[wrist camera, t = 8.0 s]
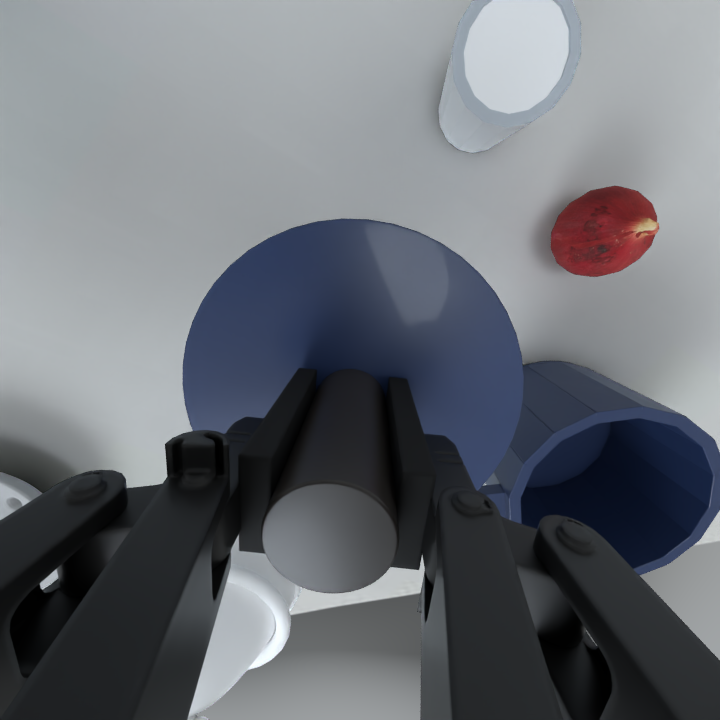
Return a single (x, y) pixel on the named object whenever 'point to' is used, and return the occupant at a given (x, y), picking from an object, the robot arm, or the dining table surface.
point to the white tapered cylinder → (507, 68)
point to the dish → (18, 504)
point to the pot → (608, 465)
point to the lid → (353, 379)
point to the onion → (603, 231)
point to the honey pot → (245, 625)
